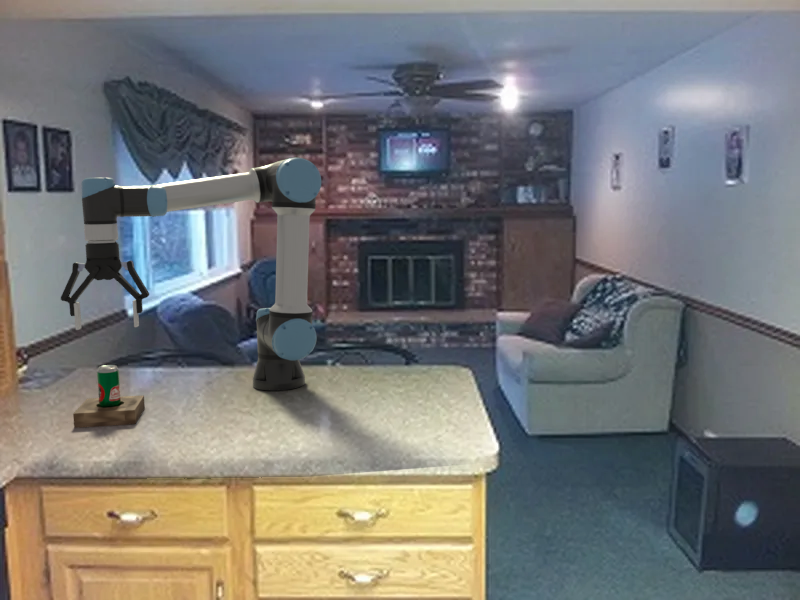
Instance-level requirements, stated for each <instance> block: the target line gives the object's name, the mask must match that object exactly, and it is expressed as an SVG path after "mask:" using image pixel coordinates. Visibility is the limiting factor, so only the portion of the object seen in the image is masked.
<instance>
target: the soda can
mask: <svg viewBox="0 0 800 600" xmlns="http://www.w3.org/2000/svg"><path fill="white" fill-rule="evenodd" d="M96 377H97V378H96V380H97V392H98V398H99V407H100V408H110V407H116V406H120V405H121V397H122V396H121V385H120V384H121V381H120V370H119V369H118V366H117V365H115V364H107V365H101V366H99V367H98V370H97V371H96Z"/></svg>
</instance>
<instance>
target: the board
mask: <svg viewBox="0 0 800 600" xmlns="http://www.w3.org/2000/svg"><path fill="white" fill-rule="evenodd" d="M145 406H146V405H145V395H129V396H127V395H126V396H121V405H120V406H116V407H110V408H100V407H99V397H93V398H92V397H91V398H90V397H89V398H86V399H85V400H84V401H83V402H82V403H81V404H80V406H78V408H77V409H76V410H75V411H74V412H73V413H72V415H73V416H72V417H73V428H74V429H76V428H77V429H78V428H93V427H109V426H125V425H126V426H127V425H128V426H129V425H136V424H137V423H138V421H139V420H140V418H141V416H142V413H143V412H144V411H145Z"/></svg>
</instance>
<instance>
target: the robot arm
mask: <svg viewBox="0 0 800 600" xmlns="http://www.w3.org/2000/svg"><path fill="white" fill-rule="evenodd" d="M321 188H322V175H321V173H320V171H319V169H318V168H317V166H316V165H315V164H314V163H313V162H312V161H310V160H309V159H306V158H304V157H303V158H302V157H289V158H286V159H282V160H278V161H276V162H273V163H270V164H267V165H264V166H263V165H262V166H259V167H251V168H250V169H249V171H247V172H242V173H234V174H225V175H218V176H211V177H203V178H196V179H189V180H182V181H173V182H168V183H167V182H166V183H159V184H153V185H152V184H151V185H124V186H122V185H116V182H115V180H114V178H113V177H86V178H84V179H83V180H82V181H81V201H82V215H83V217H82V218H83V229H84V241H85V242H87V243H85V255H86V256H85V259H86V260H85V263H84V262H79V261H75V262H73V263H72V269H71V273H70V276H69V278H68V280H67V282H66V284H65V287H64V289H63V292H62V294H61V296H60V301H63V302H66V303H68V304H69V314H70V316H71V317H74V324H75V331H80V330H81V329H82V326H83V325H82V316H81V315H82V314H81V302H79V301H77V300H78V299H79V298H80V297H81V295H82V294H83V293H84V291H85V290H86V289H87V288H88V287H89V286H90V284H91V283H92V282H93V280H95V281H103V280H106V281H110V280H113V279H114V280H115V281H116V282H117V283H119V285H121V286H122V287H123V288H124V290H126V292H128V293H129V295H131V297H133V299H134V300H132V314H133V315H132V316H133V327H134V328H138V327H139V326H140V319H139V314H142V313H143V311H144V309H143V300H144V299H146V298H148V297H149V296H150V292H149V290H148V289H147V288H146V286H145V283H143V281H142V279H141V277H140V276H139V274H138V272H137V270H136V269H135V262H134V261H133V260H132V259H131V260H128V261H123V262H121V259H120V246H119V245H120V244H119V242H117V241H118V240H119V232H118V231H119V230H118V220H117V219H118V218H119V217H121V218H123V217H126V218H129V217H133V218H134V217H139V218H140V217H152V218H154V217H155V218H156V217H161V216H162V217H163V216H165V215H166V214H167V213H169V212H174V211H175V212H176V211H183V210H189V209H196V208H203V207H210V206H211V207H212V206H217V205H224V204H231V203H233V204H234V203H239V202H244V201H245V202H246V201H254V202H255V203H257V204H259V203H266V202H271V209H272V210H273V211H274V212H275V214H276V215H277V221H276V224H277V225H276V262H275V263H276V264H275V299H274V300H275V301H274V304H273V305H272V306H271V307H264V308H259V309H257V311H256V317H255V322H256V339H257V341H256V342H257V343H256V344H257V361H256V366H255V370H254V373H253V376H252V387H253V388H254V389H257V390H260V391H261V390H262V391H270V392H271V391H287V390H292V389H298V388H301V387H303V386H304V385H306V378H305V377H306V376H305V373H304V370H303V367H302V365H301V362H300V360H302V359H304V358H306V357H308V356H309V355H310V354H311V353H312V352H313V350H314V348H315V347H316V345H317V332H316V328H315V327H314V325H313V309H312V308H311V307H310V306H309V304H308V286H309V285H308V283H309V282H308V279H309V253H310V252H309V251H310V250H309V249H310V248H309V247H310V219H311V218H310V216H311V215H312V214H313V213H314V212H315V211H316V207H317V206H316V203H317V202H316V199H317V196H318V194H319V193H320V192H321V191H320V190H321ZM122 268H124V269H125V271H128V273H129V275H130V277H131V279H132V281H133V282H134V284H135V285H136V287H137V289H138V290H137V289H136V288H134V287H133V285H132V284H130V283H129V282H128V280H127V279H126V278H125V277H124V276H123V275H122V274H121V272H120V270H121V269H122ZM84 269H85V270H86V271H87V273H89V274H88V275H87V276H86V277H85V278H84V280H83V281H82V283H81V284H80V285H79V286H78V288H77V289H76V290H75V292H74V293H73V294H72V295H71V293H72V290H73V289H74V286H75V284H76V282H77V280H78V277H79V276H80V272H82V271H83V270H84ZM70 295H71V296H70Z"/></svg>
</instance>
